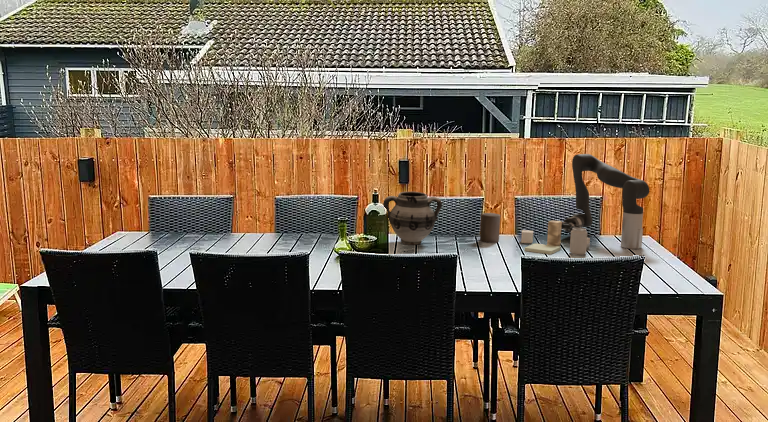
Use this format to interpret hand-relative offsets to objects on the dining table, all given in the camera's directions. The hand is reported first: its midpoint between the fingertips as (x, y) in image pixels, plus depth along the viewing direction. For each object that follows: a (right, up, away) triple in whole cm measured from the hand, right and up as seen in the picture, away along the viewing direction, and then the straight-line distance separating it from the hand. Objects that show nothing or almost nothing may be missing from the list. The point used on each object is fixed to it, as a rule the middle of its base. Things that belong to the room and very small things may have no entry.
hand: (561, 228), depth 348 cm
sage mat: (-14, -10, -20) cm, 26 cm away
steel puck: (+7, -9, -14) cm, 18 cm away
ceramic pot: (-76, -7, -9) cm, 77 cm away
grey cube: (-18, -7, 0) cm, 19 cm away
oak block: (-6, -8, -8) cm, 13 cm away
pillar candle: (-36, -7, +1) cm, 37 cm away
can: (+1, -11, -26) cm, 29 cm away
